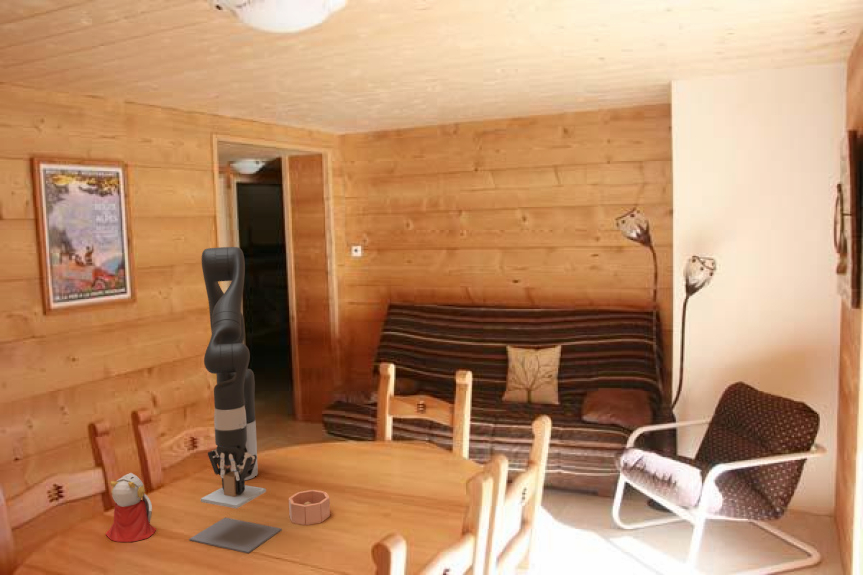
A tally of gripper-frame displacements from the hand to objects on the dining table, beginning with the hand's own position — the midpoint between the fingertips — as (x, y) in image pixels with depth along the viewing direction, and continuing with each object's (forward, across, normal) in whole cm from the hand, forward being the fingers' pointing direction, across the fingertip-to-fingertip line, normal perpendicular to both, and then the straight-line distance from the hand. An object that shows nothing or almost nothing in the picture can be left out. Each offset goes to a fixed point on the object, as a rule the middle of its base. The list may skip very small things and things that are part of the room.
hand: (233, 492), depth 167 cm
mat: (+11, 0, 0) cm, 11 cm away
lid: (+1, 0, 0) cm, 1 cm away
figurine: (+11, -26, -8) cm, 29 cm away
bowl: (+11, +11, +16) cm, 22 cm away
